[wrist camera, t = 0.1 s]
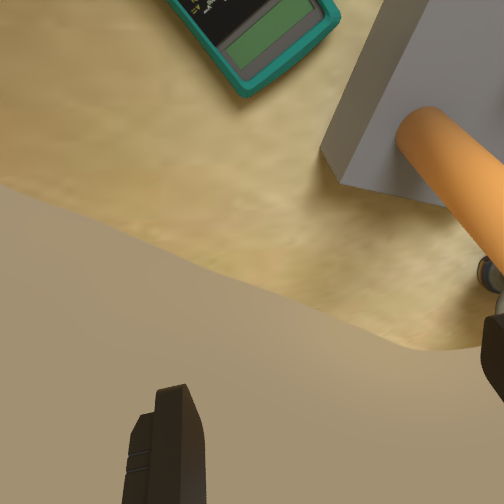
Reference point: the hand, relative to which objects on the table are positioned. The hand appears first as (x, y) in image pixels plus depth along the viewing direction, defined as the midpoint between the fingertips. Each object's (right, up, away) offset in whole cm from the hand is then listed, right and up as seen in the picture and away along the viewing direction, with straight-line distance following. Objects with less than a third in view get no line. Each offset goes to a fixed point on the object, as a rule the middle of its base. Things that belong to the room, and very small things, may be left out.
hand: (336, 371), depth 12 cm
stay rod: (+8, +10, +16) cm, 20 cm away
